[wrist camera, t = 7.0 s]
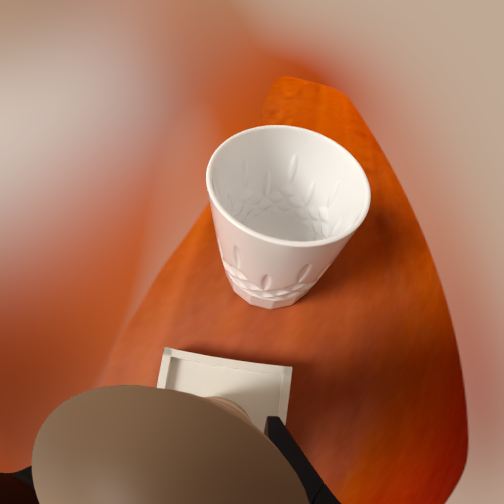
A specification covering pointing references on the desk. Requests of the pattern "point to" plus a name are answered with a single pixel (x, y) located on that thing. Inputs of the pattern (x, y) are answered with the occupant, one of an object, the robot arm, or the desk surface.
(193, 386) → the tray
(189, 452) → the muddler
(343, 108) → the desk surface
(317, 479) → the robot arm
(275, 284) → the white cup
